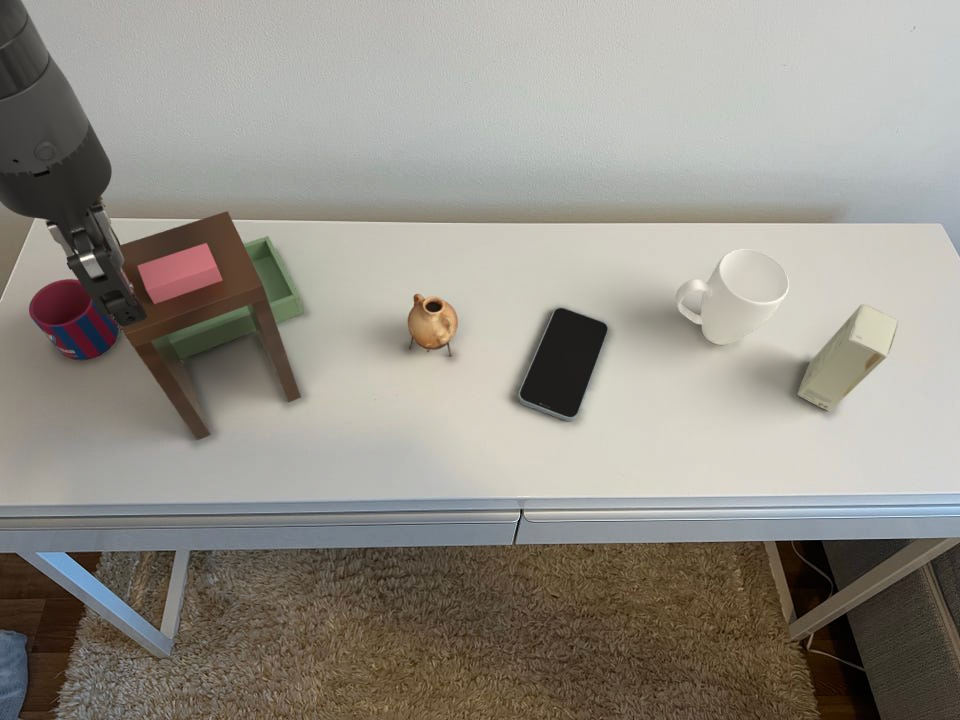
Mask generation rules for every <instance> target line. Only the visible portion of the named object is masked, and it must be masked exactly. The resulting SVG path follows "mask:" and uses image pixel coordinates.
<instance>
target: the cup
mask: <svg viewBox="0 0 960 720" xmlns="http://www.w3.org/2000/svg"><path fill="white" fill-rule="evenodd" d="M30 300H31V301H30V303H29V305H28V306H29V307H28V313H29V316H30V318H31V320H32V321H33V322H34V324H35V325H36V326H37V327H38V328H39V329H40V331H42V332H43V334H44V335H45V336H46V337H47V338H48V340H49V341H50V342H51V343H52V344H53V345H54V346H55V347H56V348H57V350H58V351H59V352H60V353H61V354H62V355H63V356H64V357H66V358H68V359H72V360H74V361H75V360H78V361H84V360H90V359H93V358H96V357H98V356H101V355H102V354H105V352H107V351H108V350H109V349H110V348H111V347H112V346H113V344H114V343H115V342H116V339H117V338H118V337H117V336H118V325H117V323H116V320H114V318H113V317H112V315H111V314H110V315H108V316H105V317H103V315H102V314H101V313H99V311H98V310H97V307H96V305H95V304H94V302H93V301H92V299H91V298H90V296H89V295H88V293H87V292H86V290H85V289H84V287H83V286H82V284H81V283H80V281H79V280H78V279H75V278H66V279H65V278H64V279H60V280H56V281H53V282H50V283H49V284H47V285H45V286H43V287H42V288H40V289H39V290H38V291H37V292H36V293H35V294H34V296H32V299H30Z"/></svg>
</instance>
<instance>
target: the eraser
mask: <svg viewBox="0 0 960 720" xmlns="http://www.w3.org/2000/svg"><path fill="white" fill-rule="evenodd" d="M137 267H138V270H139V272H140V275H141V278H142V280H143V283H144V286H145V288H146V291H147V293H148V294H149V296H150V298H151V299H152V301H153V303H154V304H157V303H160V302H162V301H165V300H168V299H171V298H174V297H177V296H180V295H183V294H185V293H188V292H191V291H194V290H197V289H200V288H203V287H205V286H208V285H211V284H214V283H217V282H220V281H222V277H221V275H220V272H219V270H218V268H217V265H216V263H215V261H214V259H213V256H212V254H211V252H210V250H209V247H208V245H207V243H204V244H201V245H198V246H195V247H192V248H189V249H186V250H183V251H180V252H177V253H174V254H171V255H168V256H165V257H162V258H159V259H156V260H153V261H150V262H147V263H144V264H141V265H138V266H137Z"/></svg>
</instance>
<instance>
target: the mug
mask: <svg viewBox="0 0 960 720" xmlns="http://www.w3.org/2000/svg"><path fill="white" fill-rule="evenodd" d="M712 271H713V272H712V273H711V274H710V276H709V279H708V281H707V282H706V281H704V280H702V279H698V278H694V279H690V280H688V281H686V282H684V283H682V284H681V285H680V286H679V288H678V289H677V290H676V293H675V296H674V302H675V306H676V308H677V310H678V311H679V312H680V313H681V315H683V316H684V317H685V318H686V319H688V320H690V321H691V322H693V324H695V325H701V332H702V334H703V336H704V337H705V339H706V340H707V341H709V342H710V343H713V344H715V345H719V346H726V345H729V344H731V343H733V342H736V341H737V340H740V339H742V338H744V337H746V336H748V335H750V334H752V333H754V332H755V331H757V330H759V329H760V328H762V326H764V325H765V324H766V323H767V322H768V320H769V319H771V317H772V316H773V315H774V313H775V312H776V310H777V309H778V308H779V307H780V305H781V304H782V302H783V301H784V299H785V298H786V296H787V294H788V291H789V289H790V280H789V277H788V274H787V272H786V270H785V268H784V267H783V266H782V264H780V263H779V261H778V260H776V259H775V258H774V257H772V256H770V255H769V254H766V253H765V252H762V251H759V250H756V249H752V248H740V249H735V250H731V251H729V252H727V253H726V254H725V255H724V256H722V257H721V259H720V260H719V261H718V263H717V264H716V266H715V268H714V269H713V270H712ZM695 291H702V296H701V305H700V314H697V313H695V312H693V311H691V310H690V309H689V308H687V307H686V306H685V305H683V303H682V301H683V299H684V298H685V297H686V296H688V295H689V294H690V293H692V292H695Z"/></svg>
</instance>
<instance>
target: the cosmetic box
mask: <svg viewBox="0 0 960 720" xmlns="http://www.w3.org/2000/svg"><path fill="white" fill-rule="evenodd" d="M899 322H900V321H899V319H897V318H895V317H893V316H891V315H889V314H887V313H885V312H882V311H881V310H879V309H877V308H875V307H873V306H870V305H869V304H866V303H864V302H863V303H860V305H859V306H858V307H857V308H856V310H855V311H854V312H852V314H851V315H850V316H849V317H848V319H847V320H846V321H845V322H843V324H842V325H841V326H840V328H839V329H837V331H836V332H835V333H834V334H833V336H831V338H830V339H829V340H828V341H827V342H826V343H825V345H824V346H822V348H821V349H820V350H819V351H818V352H817V353H816V355H815V356H814V357H813V358H812V359H811V360H810V362H809V364H808V366H807V368H806V370H805V373H804V375H803V378H802V380H801V383H800V384H799V388H798V391H797V396H798V397H800V398H802V399H803V400H806V401H808V402H810V403H811V404H813V405H815V406H817V407H818V408H821V409H823V410H825V411H827V412H831V411H832V410H833V409H834V408H836V406H837V405H838V404H839V403H840V402H841V401H842V400H843V399H844V398H845V397H846V396H848V395H849V394H850V393H851V392H852V391H853V390H854V389H855V388H856V387H857V386H858V385H859V384H860V383H861V382H862V381H863V380H864V379H865V378H866V377H868V376H869V374H870V373H871V372H873V371H874V370H875V369H876V368H877V367H878V366H879V365H880V364H881V363H882V362H883V361H884V360H886V358H888V356H889V354H890V351H891V349H892V346H893V343H894V340H895V338H896V333H897V330H898V325H899Z"/></svg>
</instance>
